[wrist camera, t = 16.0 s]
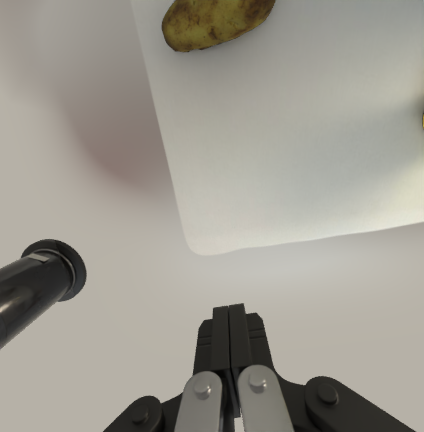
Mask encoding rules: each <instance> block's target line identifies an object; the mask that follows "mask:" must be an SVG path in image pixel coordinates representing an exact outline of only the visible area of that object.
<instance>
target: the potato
mask: <svg viewBox="0 0 424 432" xmlns="http://www.w3.org/2000/svg"><path fill="white" fill-rule="evenodd" d="M274 3H275V0H176V1H175V2H174V3H173V4H172V5H171V7H170V8H169V10H168V11H167V13H166V14H165V16H164V18H163V21H162V31H163V35H164V38H165V41H166V43H167V44H168V45H169V46H170V47H171V48H172V49H173V50H175V51H180V52H189V51H190V50H193V49H200V50H202V49H205V48H209V47H211V46H213V45H216V44H220V43H223V42H226V41H229V40H232V39H234V38H237V37H239V36H240V35H242V34H244V33H246V32H248V31H250V30H252V29H254V28H255V27H257V26H258V25H260V24H261V23H262V22H264V21H265V20H266V18H267V17H268V15H269V14H270V12H271V10H272V8H273V6H274Z"/></svg>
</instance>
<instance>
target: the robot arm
mask: <svg viewBox="0 0 424 432" xmlns="http://www.w3.org/2000/svg"><path fill="white" fill-rule="evenodd" d="M75 283H76V270H75V267H74V265H73V263H72V262H71V260H70V259H69V258H68V257H67V256H66V255H64V254H63V253H62V252H60V251H58V250H55V249H51V248H41V249H38V250H36V251H34V252H32V253H30V254H29V255H27V256H25V257H23V258H21V259H19V260H17V261H15V262H13V263H11V264H9V265H7V266H5V267H3V268H1V269H0V349H1V348H2V347H4V346H5V345H6V344H7V343H8V342H10V341H11V340H12V339H13V338H14V337H15V336H17V335H18V334H19V333H20V332H21V331H23V330H24V329H25V328H26V327H27V326H28V325H30V324H31V323H32V322H33V321H34V320H36V319H37V318H38V317H39V316H40V315H41V314H43V313H44V312H45V311H46V310H47V309H49V308H50V307H51V306H52V305H53V304H55V303H56V302H57V301H58V300H59V299H61V298H62V297H63V296H64V295H66V294H67V293H69V292H70V291H71V290H72V289H73V287H74V286H75ZM240 408H241V413H242V418H243V424H244V431H245V432H415V431H414V430H412V429H411V428H409V427H408V426H406V425H405V424H403V423H402V422H400V421H399V420H397V419H395V418H394V417H393V416H391V415H389V414H388V413H386V412H385V411H383V410H382V409H380V408H379V407H377V406H376V405H374V404H373V403H371V402H370V401H368V400H366V399H365V398H363V397H362V396H360V395H359V394H357V393H356V392H354V391H353V390H351V389H350V388H348V387H347V386H345V385H343V384H342V383H340V382H339V381H337V380H335V379H333V378H330V377H324V376H319V377H315V378H312V379H310V380H309V381H308V382H307V384H306V385H300V384H295V383H291V382H289V381H287V380H285V379H283V378H282V377H281V376H280V375H279V374H278V373H277V372H276V371H275V369H274V366H273V362H272V358H271V354H270V349H269V345H268V341H267V337H266V332H265V328H264V324H263V320H262V318H261V317H260V316H259V315H258V314H257V313H250V314H246V313H245V308H244V304H243V303H241V304H235V305H229V307H228V306H222V307H215V308H213V319H209V320H204V321H203V323H202V324H201V326H200V327H199V331H198V339H197V347H196V354H195V361H194V369H193V376H192V377H191V378H190V379H189V380H188V382H187V383H186V385H185V387H184V391H183V392H182V393H181V394H180V395H178V396H176V397H175V398H172V399H170V400H168V401H166V402H164V403H160V401H159V400H158V399H157V398H156V397H154V396H144V397H141V398H139V399H137V400H136V401H134V402H133V403H132V404H131V405H129V406H128V408H127V409H126V410H125V411H123V413H121V414H120V415H119V416H118V417H117V418H116V419H115V420H114V421H113V422H112V423H111V424H110V425H109V426H108V427H107V428H106V429H105V430H104V431H103V432H235V429H234V418H238V417H241V416H240V415H241V414H240Z"/></svg>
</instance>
